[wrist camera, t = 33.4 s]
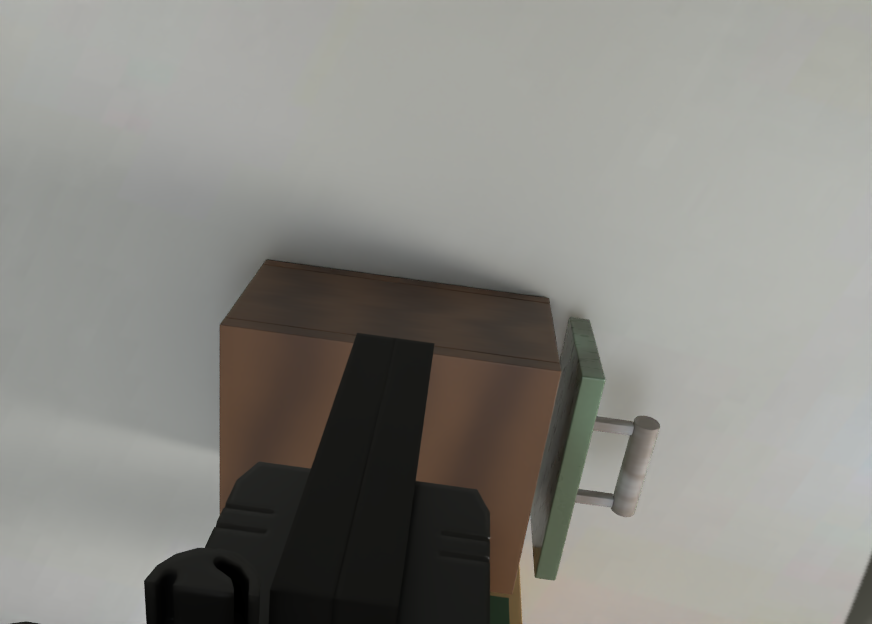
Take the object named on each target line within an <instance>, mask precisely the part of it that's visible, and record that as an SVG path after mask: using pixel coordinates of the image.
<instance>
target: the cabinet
mask: <svg viewBox="0 0 872 624" xmlns="http://www.w3.org/2000/svg"><path fill="white" fill-rule="evenodd" d="M357 333H363V334H370V335H378V336H385V337H392V338H400V339H407V340H414V341H422V342H429V343H435V344H434V351H433V358H432V366H431V373H430V380H429V388H428V395H427V402H426V410H425V417H424V425H423V432H422V439H421V447H420V454H419V461H418V469H417V476H416V481H420V482H428V483H435V484H442V485H449V486H457V487H464V488H471V489H477V490H478V492H479V493H480V495H481V497H482V499H483V501H484V502H485V504H486V506H487V508H488V510H489V511H490V592H495V593H502V594H509V595H512V593H513V589H514V584H515V580H516V575H517V571H518V566H519V562H520V557H521V553H522V548H523V544H524V539H525V535H526V530H527V526H528V521H529V516H530V512H531V507H532V503H533V498H534V494H535V489H536V485H537V480H538V476H539V471H540V467H541V462H542V458H543V453H544V449H545V444H546V440H547V435H548V431H549V426H550V421H551V417H552V412H553V408H554V403H555V399H556V394H557V390H558V385H559V381H560V376H561V366H560V361H559V355H558V349H557V343H556V337H555V331H554V325H553V319H552V313H551V307H550V302H549V298H543V297H536V296H529V295H521V294H514V293H507V292H499V291H492V290H485V289H477V288H470V287H463V286H456V285H448V284H441V283H434V282H426V281H419V280H412V279H404V278H397V277H390V276H382V275H375V274H368V273H360V272H353V271H346V270H338V269H331V268H324V267H316V266H309V265H302V264H294V263H287V262H280V261H272V260H266V261H265V262H264V263H263V265H262V266H261V267H260V269H259V270H258V272H257V273H256V275H255V276H254V277H253V279H252V280H251V282H250V283H249V285H248V286H247V287H246V289H245V290H244V292H243V293H242V294H241V296H240V297H239V299H238V300H237V302H236V303H235V304H234V306H233V307H232V309H231V310H230V312H229V313H228V314H227V316H226V317H225V318H224V320H223V321H222V322H221V324H220V514H221V512H222V510H223V508H225V505H226V501H227V499H228V497H229V495H230V493H231V491H232V489H233V486H234V484H235V482H236V480H237V479H238V478H239V477H241V476H242V475H243V474H244V473H246V472H247V471H248V470H249V469H250V468H252V467H253V466H254V465H255V464H256V463H258V462H267V463H274V464H281V465H288V466H296V467H303V468H310V469H311V467H312V464H313V461H314V458H315V455H316V452H317V450H318V447H319V444H320V441H321V438H322V435H323V432H324V429H325V426H326V423H327V420H328V417H329V414H330V411H331V408H332V405H333V402H334V399H335V396H336V394H337V391H338V388H339V385H340V382H341V379H342V376H343V373H344V370H345V367H346V364H347V361H348V358H349V355H350V352H351V349H352V346H353V343H354V340H355V338H356V335H357Z"/></svg>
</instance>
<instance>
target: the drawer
mask: <svg viewBox="0 0 872 624" xmlns="http://www.w3.org/2000/svg"><path fill="white" fill-rule="evenodd" d="M560 366H561V376H560V381H559V385H558V390H557V394H556V399H555V403H554V408H553V412H552V417H551V421H550V426H549V431H548V435H547V440H546V444H545V449H544V453H543V458H542V462H541V467H540V471H539V476H538V480H537V485H536V489H535V494H534V498H533V503H532V507H531V512H530V516H531V530H532V544H533V558H534V572H535V578H540V579H547V580H555V579H556V576H557V572H558V568H559V564H560V560H561V556H562V552H563V548H564V544H565V540H566V536H567V532H568V528H569V524H570V520H571V516H572V512H573V508H574V504H575V503H582V504H589V505H597V506H604V507H611V509H612V511H613V512H614V513H616V514H617V515H620V516H623V517H630V516H633V515H634V513H635V510H636V507H637V503H638V500H639V497H640V493H641V490H642V487H643V483H644V480H645V476H646V473H647V470H648V466H649V463H650V459H651V456H652V453H653V449H654V446H655V443H656V439H657V436H658V432H659V429H660V424H659V422H658V421H656V420H655V419H653V418H651V417H648V416H637V417H636V418H635V419H634V422H632V421H626V420H619V419H612V418H604V417H597V412H598V408H599V404H600V400H601V396H602V392H603V388H604V384H605V376H604V372H603V369H602V365H601V361H600V357H599V353H598V350H597V346H596V342H595V338H594V335H593V331H592V327H591V323H590V320H587V319H580V318H572V317H570V318H569V322H568V327H567V331H566V336H565V340H564V345H563V349H562V354H561V359H560ZM593 430H595V431H602V432H610V433H617V434H624V435H630V437H629V440H628V444H627V448H626V451H625V455H624V459H623V462H622V466H621V469H620V473H619V477H618V480H617V484H616V487H615V491H614V495H613V494H611V493H604V492H597V491H589V490H582V489H578V488H579V484H580V480H581V476H582V472H583V468H584V464H585V460H586V456H587V452H588V448H589V444H590V440H591V436H592V432H593Z"/></svg>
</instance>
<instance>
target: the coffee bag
mask: <svg viewBox="0 0 872 624" xmlns="http://www.w3.org/2000/svg"><path fill="white" fill-rule="evenodd" d="M490 624H522V609H521V589H520V568H519V566H518V571H517V575H516V580H515V584H514V589H513V593H512V595H509V594H502V593H495V592H490Z"/></svg>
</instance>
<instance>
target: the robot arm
mask: <svg viewBox="0 0 872 624" xmlns="http://www.w3.org/2000/svg"><path fill="white" fill-rule="evenodd" d="M434 344H435V343H429V342H422V341H414V340H407V339H400V338H392V337H385V336H378V335H370V334H363V333H357V335H356V338H355V340H354V343H353V346H352V349H351V352H350V355H349V358H348V361H347V364H346V367H345V370H344V373H343V376H342V379H341V382H340V385H339V388H338V391H337V394H336V396H335V399H334V402H333V405H332V408H331V411H330V414H329V417H328V420H327V423H326V426H325V429H324V432H323V435H322V438H321V441H320V444H319V447H318V450H317V452H316V455H315V458H314V461H313V464H312V467H311V469H310V468H303V467H296V466H288V465H281V464H274V463H267V462H258V463H256V464H255V465H254V466H253V467H252V468H250V469H249V470H248V471H247V472H246V473H244V474H243V475H242V476H241V477H239V478H238V479H237V480H236V482H235V484H234V486H233V489H232V491H231V493H230V495H229V497H228V499H227V501H226V505H225V508H223V510H222V512H221V514H220V516H219V518H218V521H217V524H216V527H214V529H213V531H212V533H211V535H210V538H209V540H208V542H207V544H206V546H205V548H196V549H192V550H189V551H185V552H181V553H178V554H175V555H173V556H172V557H170V558H168V559H167V560H165V561H164V562H162V563H160V564H159V565H157V566H156V567H155V569H154V570H153V571H152V572H151V573H150V575H149V576H148V577H147V578H146V579H145V581H144V586H145V604H146V621H147V624H490V511H489V510H488V508H487V506H486V504H485V502H484V501H483V499H482V497H481V495H480V493H479V492H478V490H477V489H471V488H464V487H457V486H449V485H442V484H435V483H428V482H420V481H416V476H417V469H418V461H419V454H420V447H421V439H422V432H423V425H424V417H425V410H426V402H427V395H428V388H429V380H430V373H431V366H432V358H433V351H434ZM12 624H38V623H32V622H19V623H12Z"/></svg>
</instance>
